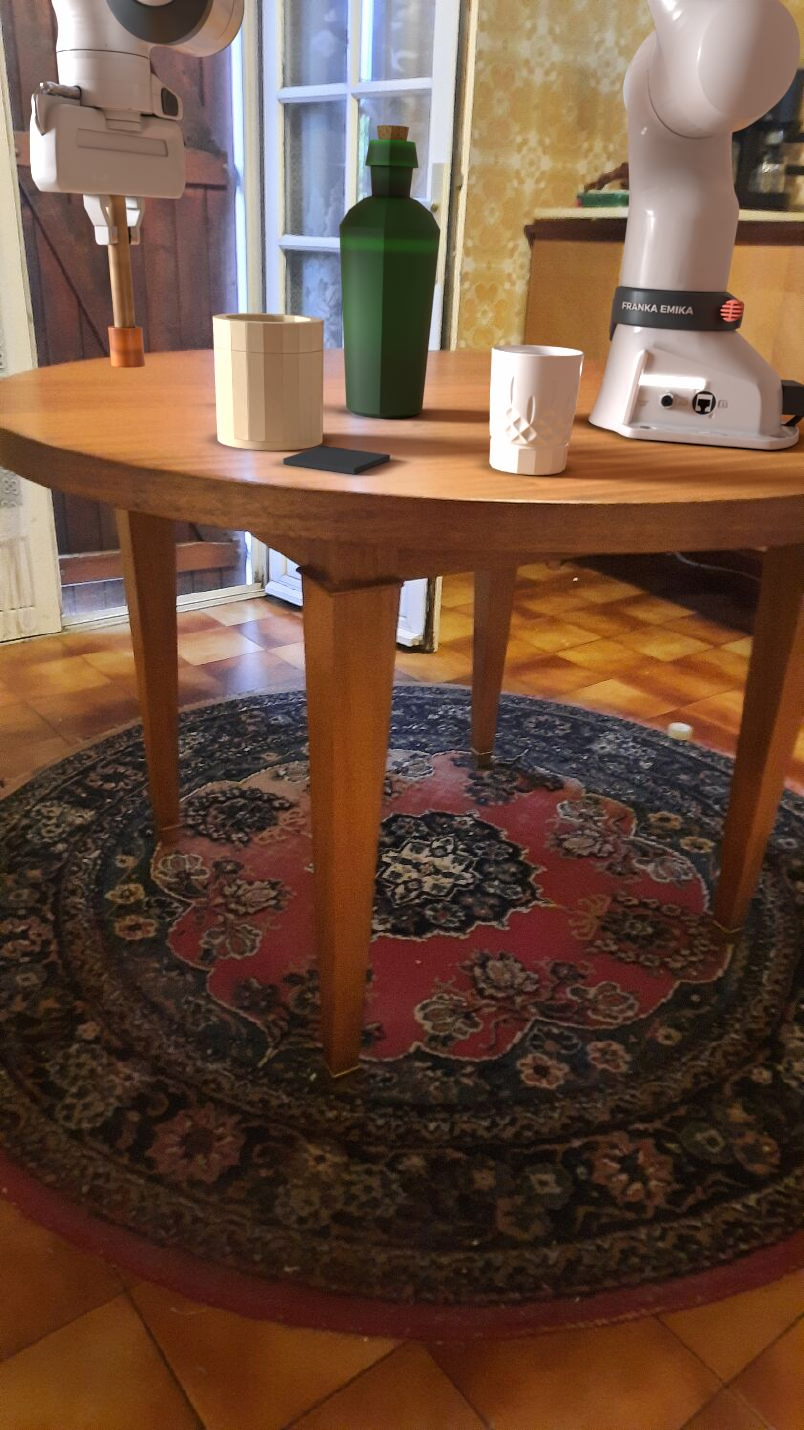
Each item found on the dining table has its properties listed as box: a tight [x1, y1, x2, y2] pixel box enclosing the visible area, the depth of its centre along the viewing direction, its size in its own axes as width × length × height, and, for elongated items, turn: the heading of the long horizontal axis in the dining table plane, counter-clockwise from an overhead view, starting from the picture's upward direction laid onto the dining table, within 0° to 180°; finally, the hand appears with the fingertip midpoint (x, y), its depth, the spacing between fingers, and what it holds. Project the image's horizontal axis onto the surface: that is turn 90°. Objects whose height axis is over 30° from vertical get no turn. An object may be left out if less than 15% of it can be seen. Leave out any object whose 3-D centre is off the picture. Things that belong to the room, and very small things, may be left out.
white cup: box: [489, 344, 585, 476], centre depth 89 cm, size 8×8×10 cm
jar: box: [212, 312, 325, 452], centre depth 96 cm, size 10×10×11 cm
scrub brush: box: [106, 195, 146, 369], centre depth 109 cm, size 4×4×17 cm
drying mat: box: [282, 445, 391, 475], centre depth 90 cm, size 7×7×1 cm
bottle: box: [338, 124, 441, 419], centre depth 109 cm, size 11×11×28 cm
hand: (118, 245), depth 107 cm, fingers closed on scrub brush, 2 cm apart
